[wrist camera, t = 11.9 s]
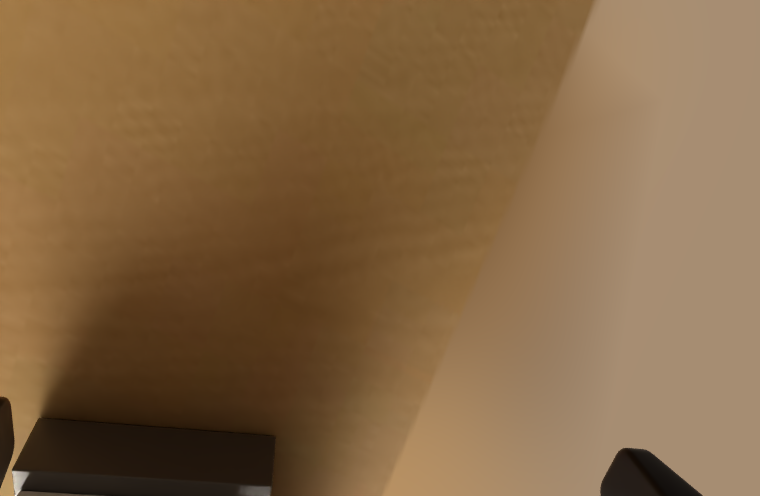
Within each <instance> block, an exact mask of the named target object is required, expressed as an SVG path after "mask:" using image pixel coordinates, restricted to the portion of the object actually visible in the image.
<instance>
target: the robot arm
mask: <svg viewBox="0 0 760 496" xmlns="http://www.w3.org/2000/svg"><path fill="white" fill-rule="evenodd" d="M13 450H14V431H13V421H12V411H11V404H10V402H9V400H8V399H7V398H5V397H0V488H1V485H2V482H3V480H4V477H5V474H6V472H7V469H8V466H9V464H10V461H11V458H12V455H13ZM600 493H601V496H702V495H701V494H700V493H699V492H698V491H697V490H695V489H694V488H693V487H692V486H691V485H689V484H688V483H687V482H686V481H685V480H683V479H682V478H681V477H680V476H679V475H677V474H676V473H675V472H674V471H673V470H671V469H670V468H669V467H668V466H667V465H665V464H664V463H663V462H662V461H660V460H659V459H658V458H657V457H656V456H655V455H653V454H652V453H651V452H649V451H647V450H644V449H633V448H623V449H621V450H620V451H619V452H618V453H617V455H616V456H615V458H614V460H613V462H612V464H611V466H610V467H609V469H608V471H607V473H606V475H605V477H604V479H603V481H602V484H601V491H600Z"/></svg>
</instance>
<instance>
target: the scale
mask: <svg viewBox="0 0 760 496" xmlns="http://www.w3.org/2000/svg"><path fill="white" fill-rule="evenodd" d="M275 441H276V437H275V436H265V435H252V434H239V433H226V432H213V431H200V430H187V429H174V428H161V427H149V426H136V425H123V424H110V423H97V422H84V421H71V420H58V419H45V418H39V419H38V420H37V422H36V424H35V426H34V428H33V430H32V432H31V434H30V436H29V438H28V440H27V442H26V444H25V445H24V447H23V449H22V451H21V453H20V455H19V457H18V459H17V461H16V463H15V465H14V467H13V469H12V475H13V484H14V494H15V496H271V491H272V485H273V470H274V456H275Z"/></svg>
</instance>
